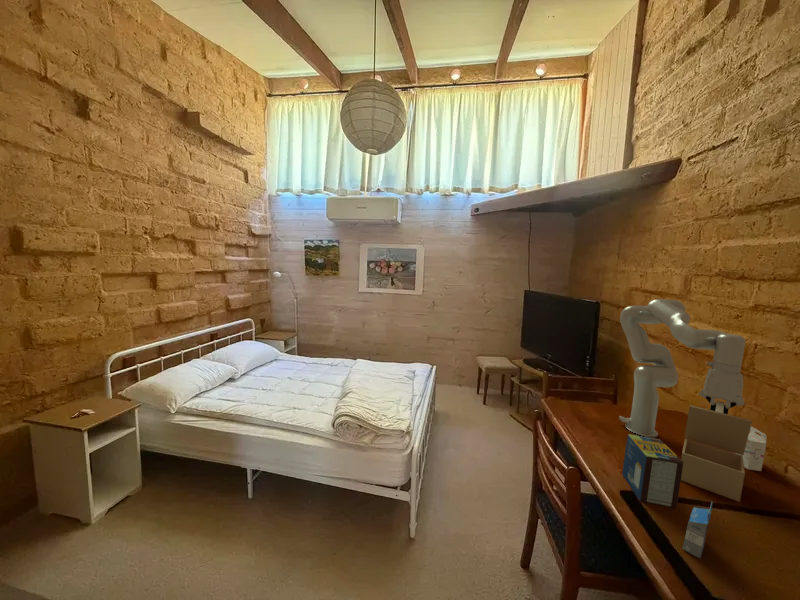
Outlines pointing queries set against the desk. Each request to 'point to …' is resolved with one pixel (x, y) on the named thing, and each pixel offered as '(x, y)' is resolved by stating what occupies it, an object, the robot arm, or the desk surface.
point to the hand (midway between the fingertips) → (718, 416)
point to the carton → (713, 469)
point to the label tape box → (697, 531)
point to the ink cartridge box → (754, 450)
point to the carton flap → (718, 428)
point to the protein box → (652, 470)
